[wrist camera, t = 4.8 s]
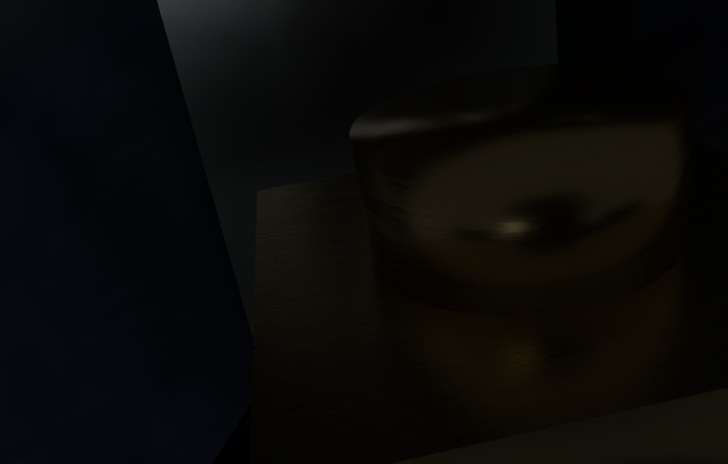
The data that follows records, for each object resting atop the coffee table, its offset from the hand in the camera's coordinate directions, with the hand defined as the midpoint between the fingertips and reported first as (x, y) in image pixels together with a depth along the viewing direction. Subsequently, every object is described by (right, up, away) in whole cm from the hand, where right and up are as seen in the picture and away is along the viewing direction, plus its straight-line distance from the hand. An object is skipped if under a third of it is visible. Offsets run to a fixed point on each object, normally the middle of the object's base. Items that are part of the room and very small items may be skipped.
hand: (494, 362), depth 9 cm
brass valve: (0, 0, +1) cm, 1 cm away
